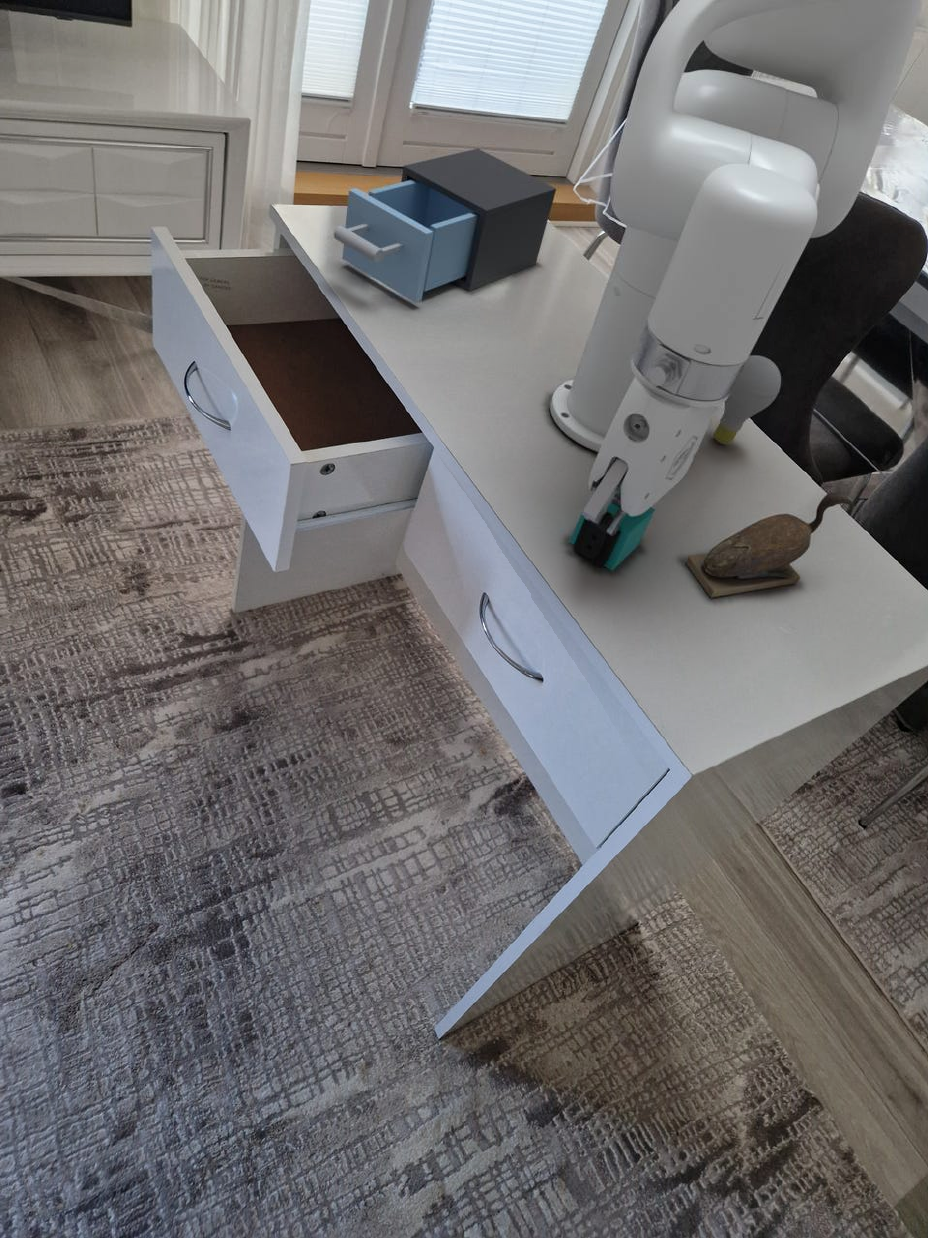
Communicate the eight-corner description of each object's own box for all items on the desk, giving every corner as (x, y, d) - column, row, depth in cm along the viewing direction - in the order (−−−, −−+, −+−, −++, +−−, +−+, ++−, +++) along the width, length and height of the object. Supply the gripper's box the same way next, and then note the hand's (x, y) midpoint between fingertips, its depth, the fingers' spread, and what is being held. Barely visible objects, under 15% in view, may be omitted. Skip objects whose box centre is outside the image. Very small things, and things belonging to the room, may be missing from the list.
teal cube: (636, 547, 72) (655, 509, 69) (611, 571, 70) (630, 532, 66) (595, 520, 74) (612, 482, 70) (569, 542, 71) (585, 503, 68)
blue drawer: (386, 313, 89) (397, 243, 83) (312, 267, 92) (317, 197, 87) (485, 274, 100) (500, 209, 94) (416, 235, 104) (426, 170, 98)
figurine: (801, 544, 78) (851, 473, 72) (830, 578, 75) (884, 507, 69) (683, 562, 72) (726, 486, 66) (710, 598, 70) (757, 523, 64)
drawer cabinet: (468, 291, 98) (486, 210, 91) (391, 246, 102) (403, 165, 95) (535, 264, 107) (556, 188, 100) (462, 223, 111) (477, 147, 104)
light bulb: (719, 462, 84) (764, 378, 77) (686, 430, 87) (727, 347, 80) (755, 453, 87) (802, 371, 80) (721, 423, 90) (764, 341, 82)
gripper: (679, 427, 52) (589, 615, 65) (777, 350, 62) (682, 525, 76) (584, 371, 54) (515, 564, 67) (694, 305, 65) (616, 484, 78)
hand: (604, 542), depth 71 cm, fingers closed on teal cube, 4 cm apart
